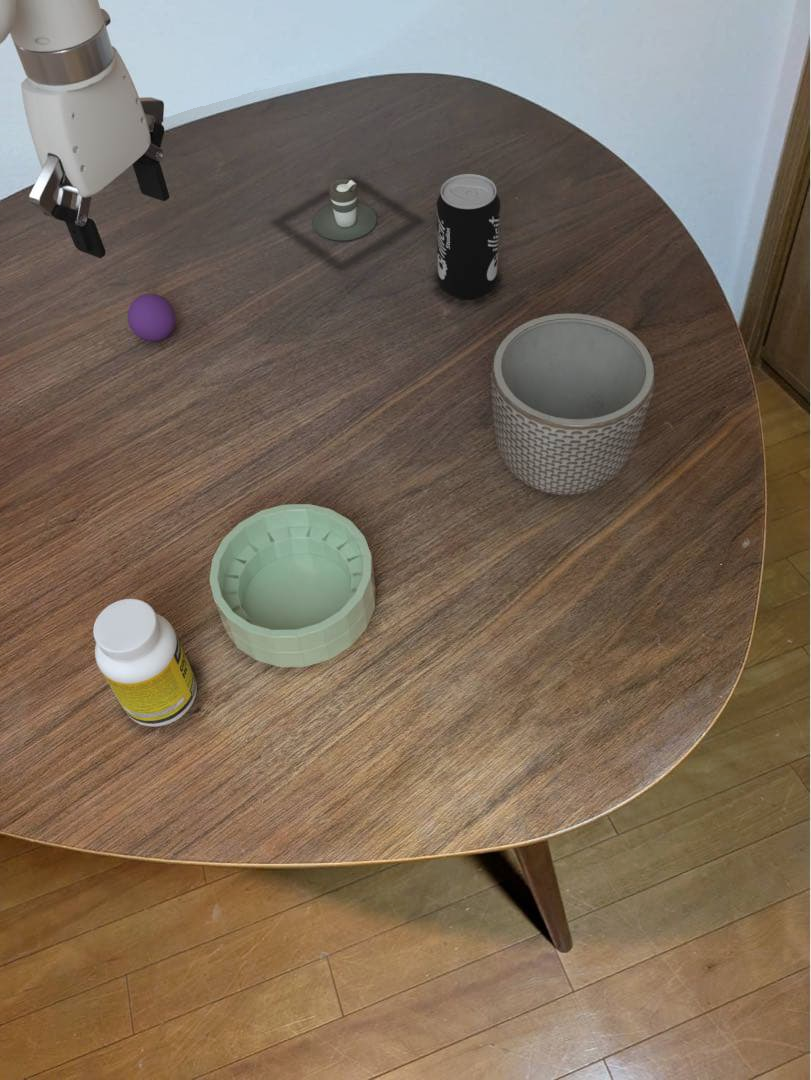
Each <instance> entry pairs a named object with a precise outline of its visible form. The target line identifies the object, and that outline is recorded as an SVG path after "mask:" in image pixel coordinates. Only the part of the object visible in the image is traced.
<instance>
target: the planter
mask: <svg viewBox="0 0 811 1080" xmlns="http://www.w3.org/2000/svg"><path fill="white" fill-rule="evenodd" d="M653 360H654V359H653V357H652V355H651V353H650V351H649V349H648V348H647V347H646V345H645V344H644V343H643V342H642V340H641V339H639V338H638V337H637V336H636V335H635V333H633V332H631V331H630V330H628V329H627V328H626V327H623V326H621V325H619V324H617V323H615V322H613V321H611V320H608V319H605V318H603V317H598V316H595V315H591V314H583V313H555V314H550V315H544V316H541V317H536V318H534V319H531V320H528V321H526V322H524V323H522V324H520V325H519V326H517V327H515V328H514V329H513V330H511V331H510V332H509V333H508V334H506V335H505V337H504V338H503V339H502V340H501V341H500V343H499V344H498V346H497V348H496V350H495V352H494V355H493V359H492V362H491V369H490V394H491V413H492V422H493V431H494V436H495V442H496V445H497V446H496V447H497V449H498V453H499V455H500V457H501V459H502V462H503V463H504V465H505V466H506V467H507V469H508V470H509V472H511V474H512V475H513V476H514V477H516V479H518V480H519V481H521V482H522V483H524V484H525V485H527V486H528V487H530V488H532V489H535V490H537V491H539V492H543V493H546V494H550V495H555V496H574V495H581V494H586V493H589V492H592V491H595V490H598V489H600V488H602V487H604V486H606V485H607V484H608V483H610V482H611V481H612V480H614V478H616V477H617V476H618V475H619V474H620V473H621V472H622V470H623V469H624V467H625V466H626V464H627V463H628V461H629V460H630V458H631V456H632V453H633V451H634V450H635V447H636V444H637V442H638V439H639V436H640V433H641V431H642V429H643V426H644V424H645V420H646V416H647V413H648V410H649V407H650V404H651V402H652V397H653V394H654V389H655V383H656V381H655V380H656V379H655V378H656V369H655V364H654V361H653Z"/></svg>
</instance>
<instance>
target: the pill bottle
mask: <svg viewBox="0 0 811 1080" xmlns="http://www.w3.org/2000/svg"><path fill="white" fill-rule="evenodd" d="M92 632H93V637H94V641H95V645H94V646H95V647H94V656H95V662H96V664H97V667H98V669H99V671H100V672H101V674H102V676H103V677H104V679H105V680H106V682H107V684H108V685H109V687H110V688H111V690H112V692H113V694H114V695H115V697H116V699H117V701H118V702H119V704H120V706H121V707H122V709H123V710H124V712H125V713H126V715H127V716H128V717H129V718H130V719H131V720H132V721H134V722H135V723H136V724H139V725H140V726H143V727H153V728H154V727H155V728H156V727H164V726H167V725H169V724H172V723H173V722H176V721H177V720H179V719H181V718H182V717H183V716H184V715H186V713H188V711H189V710H190V709H191V707H192V706H193V704H194V702H195V699H196V697H197V696H196V695H197V687H198V685H197V679H196V677H195V674H194V672H193V668H192V666H191V665H190V663H189V660H188V658H187V656H186V654H185V652H184V648H183V647H182V644H181V642H180V640H179V638H178V635H177V632H176V631H175V629H174V627H173V625H172V623H170V622H169V621H168V619H166V618H165V617H163V616H162V615H160V614H158V613H156V612H155V610H154V608H153V607H152V606H151V605H150V604H149V603H147V602H146V601H144V600H141V599H137V598H124V599H120V600H117V601H115V602H112V603H111V604H108V605H107V606H106V607H105V608H104V609H103V610H102V611H100V613H99V614H98V616H97V617H96V619H95V621H94V624H93V631H92Z"/></svg>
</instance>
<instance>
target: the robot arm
mask: <svg viewBox="0 0 811 1080" xmlns="http://www.w3.org/2000/svg"><path fill="white" fill-rule="evenodd" d="M110 24H111V16H110V15H109V13H108V12H107V11H106V10H105V9H104V8H101V6H100V3H99V0H0V45H1V44H3V42H5V41H6V39H7V38H8V36H9V34H10V37H11V39H12V42H13V46H14V47H15V49H16V52H17V55H18V57H19V60H20V62H21V65H22V69H23V71H24V73H25V76H26V78H25V79H24V80H23V81H22V82H21V84H20V86H21V95H22V102H23V107H24V112H25V117H26V121H27V126H28V129H29V133H30V136H31V140H32V143H33V146H34V150H35V152H36V155H37V158H38V161H39V164H40V167H41V171H40V173H39V175H38V176H37V179H36V181H35V183H34V185H33V187H32V189H31V191H30V193H29V195H28V200H29V203H31V204H32V205H33V206H35V208H37V209H39V210H40V211H41V212H43V214H44V215H45V216H47V217H50V218H52V219H55V220H58V221H62V222H65V225H66V228H67V230H68V232H69V235H70V237H71V240H72V243H73V245H74V247H75V248H76V249H77V250H78V251H80V252H81V253H85V254H88V255H90V256H93V257H96V258H99V259H102V258H103V257H104V256H106V248H105V246H104V243H103V241H102V238H101V235H100V232H99V230H98V227H97V224H96V222H95V220H94V219H92V218H89V212H90V207H91V202H92V197H93V196H95V195H96V194H98V193H99V192H100V191H102V190H103V189H104V188H105V187H107V186H108V185H109V184H110V183H113V181H114V180H115V179H116V178H118V177H119V176H120V175H122V173H124V172H125V171H126V170H128V169H129V167H131V166H132V168H133V171H134V173H135V174H134V175H135V177H136V180H137V185H138V187H139V189H140V193H141V194H142V195H144V196H147V197H149V198H152V199H155V200H158V201H161V202H166V201H168V200H169V199H170V194H169V190H168V186H167V183H166V179H165V176H164V173H163V169H162V166H161V161H162V160H163V157H164V151H163V149H162V148H161V147H162V142H163V139H164V135H165V127H164V125H163V123H164V115H165V114H164V113H165V103H164V101H163V100H161V99H158V98H154V97H151V96H150V97H148V96H147V97H140V96H139V94H138V91H137V89H136V86H135V83H134V81H133V79H132V77H131V74H130V71H129V70H128V68H127V66H126V64H125V62H124V60H123V59H122V56H121V55H120V53H119V51H118V50H117V48H116V47H115V46H114V45H112V42H111V39H110V36H109V32H108V29H107V26H109V25H110ZM57 189H58V193H57V198H56V200H55V197H54V196H55V193H56V191H57ZM73 195H77V196H76V201H75V207H74V208H72V207H71V205H72V200H73Z"/></svg>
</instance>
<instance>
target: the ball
mask: <svg viewBox="0 0 811 1080" xmlns="http://www.w3.org/2000/svg"><path fill="white" fill-rule="evenodd" d="M176 321H177V319H176V311H175V309H174V307H173V305H172V304H171V302H170V301H169V300H168V299H166V298H165V296H164V297H163V296H162V295H160V294H158V293H157V294H156V293H144V294H141V295H139V296H138V297H136V298H134V300H132V302H131V303H130V305H129V307H128V310H127V323H128V325H129V328H130V330H131V332H133V334H134V335H136V336H137V337H138V338H139V339H141V340H143V341H147V342H159V341H162V340H165V339H166V338H167V337H169V336H170V335H171V333H172V332H173V330H174V329H175V326H176Z"/></svg>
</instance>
